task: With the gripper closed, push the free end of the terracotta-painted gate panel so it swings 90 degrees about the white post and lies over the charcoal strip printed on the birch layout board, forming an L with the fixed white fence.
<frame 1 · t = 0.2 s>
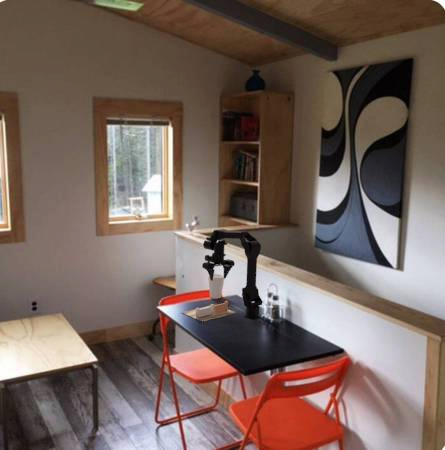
hand: (218, 279, 292), 14 cm above the table, fingers open, 9 cm apart
foam cup: (215, 297, 308), on the table
layout card: (209, 313, 278), on the table
fence fixed: (212, 314, 276), resting on layout card
gate panel: (221, 307, 279), point 3 cm above the table, hinge at 0.0°
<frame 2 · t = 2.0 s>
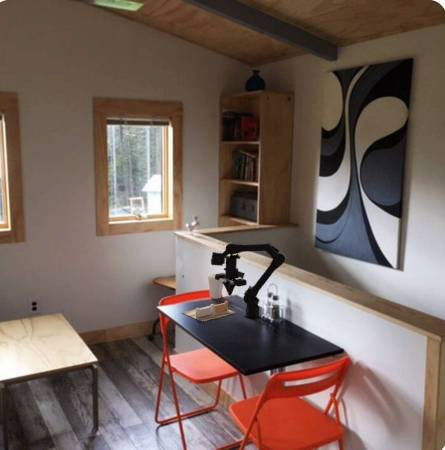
hand: (229, 295, 276), 10 cm above the table, fingers closed
nothing on the table moved.
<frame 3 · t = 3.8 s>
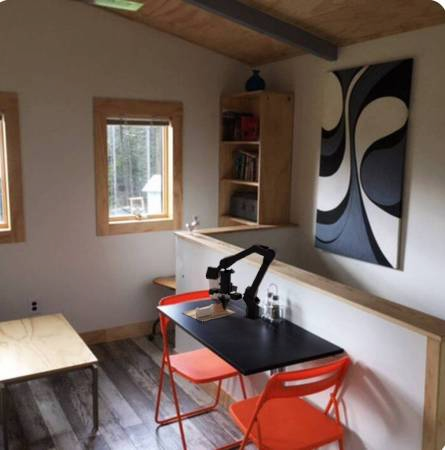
hand: (224, 309, 279), 2 cm above the table, fingers closed
gate panel: (220, 306, 280), point 3 cm above the table, hinge at 3.7°, touching gripper
everything else where it was.
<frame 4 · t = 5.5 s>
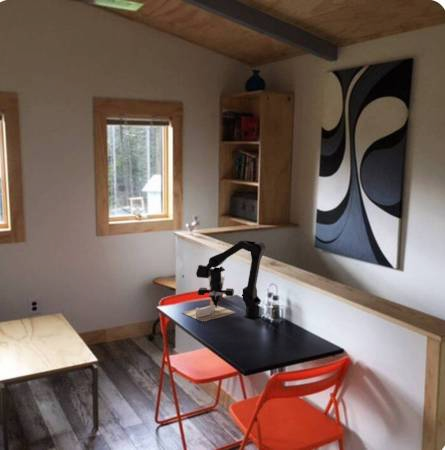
hand: (216, 307, 283), 2 cm above the table, fingers closed
gate panel: (211, 305, 281), point 3 cm above the table, hinge at 50.6°, touching gripper
everything else where it was.
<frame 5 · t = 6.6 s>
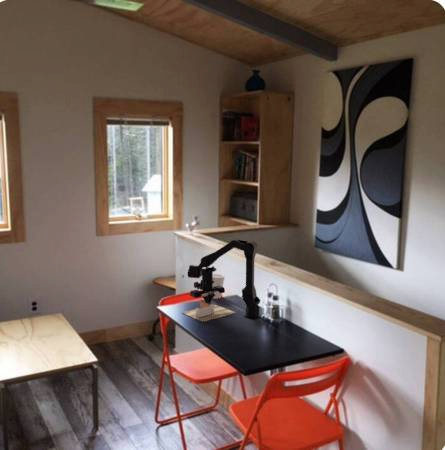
hand: (207, 307, 283), 2 cm above the table, fingers closed
gate panel: (205, 306, 280), point 3 cm above the table, hinge at 84.0°, touching gripper
everything else where it was.
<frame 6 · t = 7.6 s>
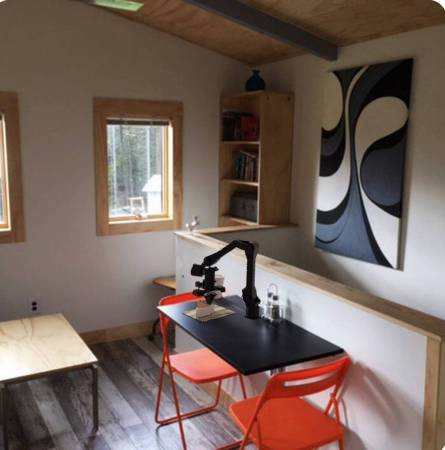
hand: (208, 306, 285), 2 cm above the table, fingers closed
gate panel: (204, 306, 280), point 3 cm above the table, hinge at 92.3°
everything else where it was.
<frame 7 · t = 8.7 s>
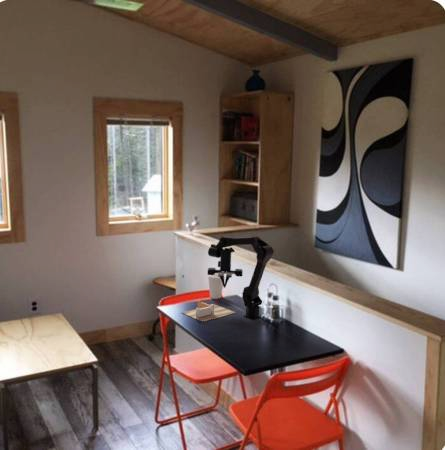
hand: (224, 287, 285), 12 cm above the table, fingers closed
nothing on the table moved.
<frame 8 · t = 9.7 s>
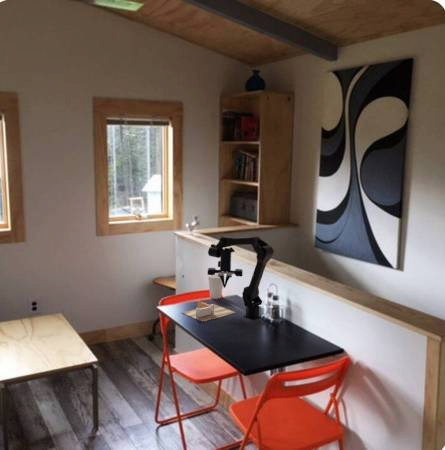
hand: (224, 287, 285), 12 cm above the table, fingers closed
nothing on the table moved.
at the end: gate panel at +92° (first picture: +0°) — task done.
